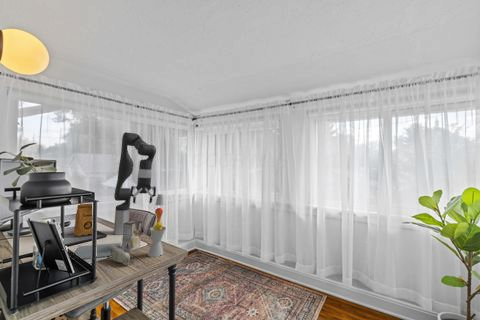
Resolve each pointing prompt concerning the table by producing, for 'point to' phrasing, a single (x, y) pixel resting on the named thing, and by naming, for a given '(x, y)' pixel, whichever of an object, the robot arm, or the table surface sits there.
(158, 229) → the lava lamp
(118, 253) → the decorative bird
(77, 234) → the coffee package
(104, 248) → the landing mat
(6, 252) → the table surface
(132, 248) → the coffee box
